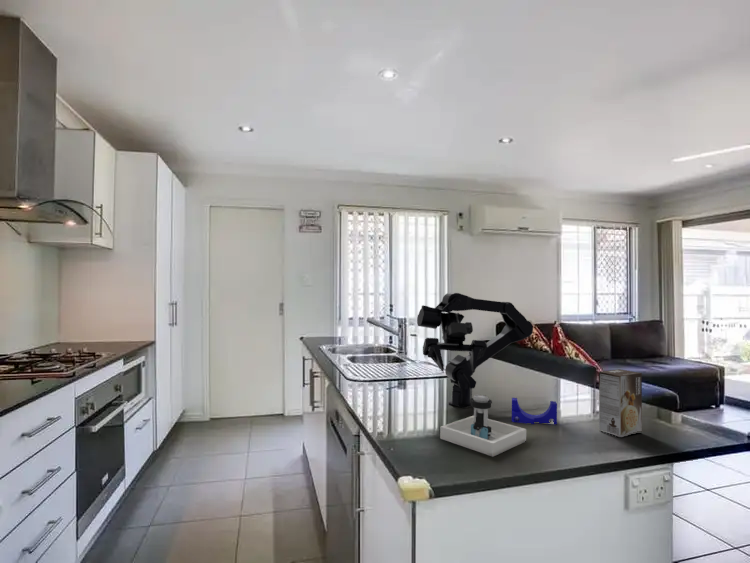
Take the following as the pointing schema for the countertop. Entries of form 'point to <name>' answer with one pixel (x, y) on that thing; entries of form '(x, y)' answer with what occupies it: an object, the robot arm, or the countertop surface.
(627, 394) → the coffee box
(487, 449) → the tray
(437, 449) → the countertop surface
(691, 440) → the countertop surface
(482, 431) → the push button
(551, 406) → the blue u-shaped cradle
